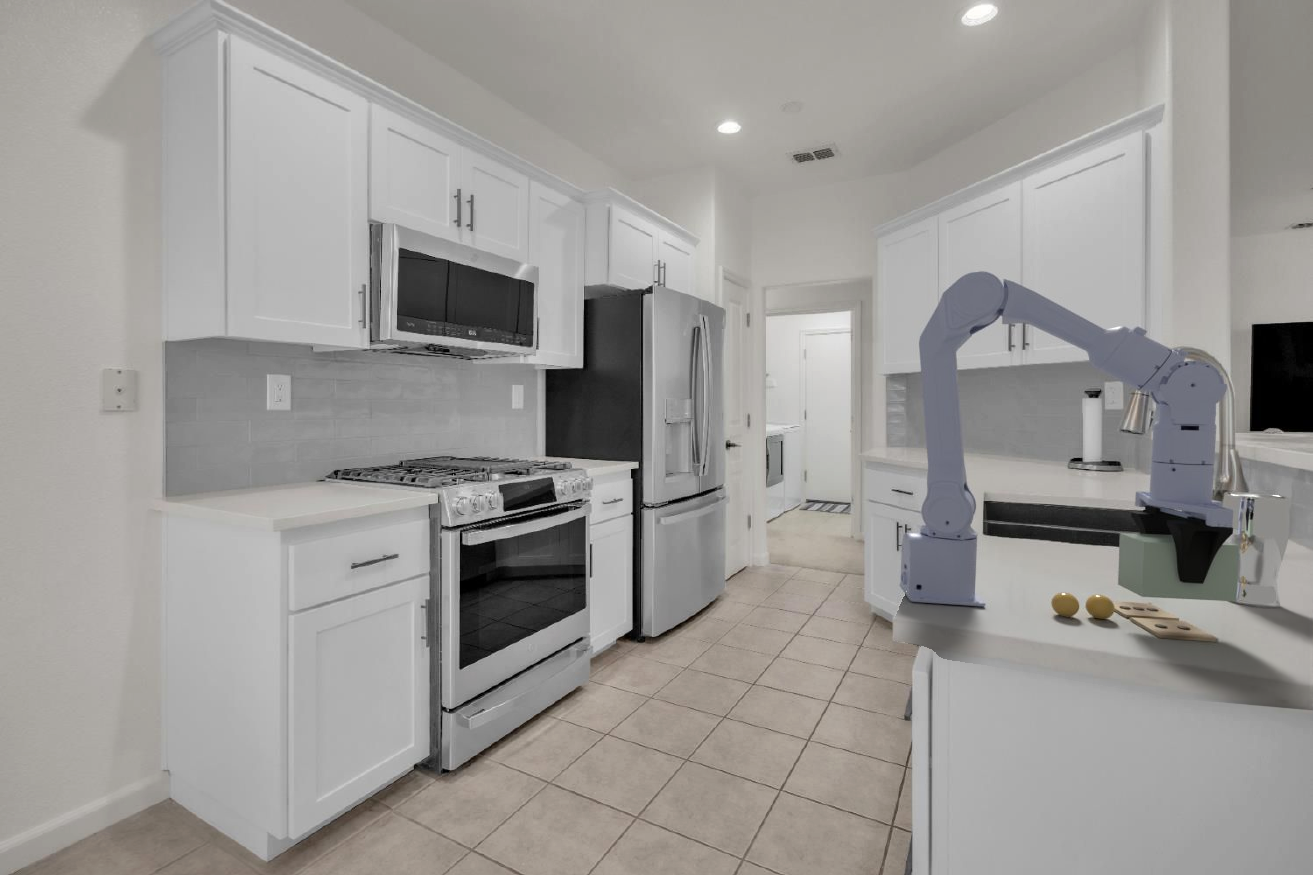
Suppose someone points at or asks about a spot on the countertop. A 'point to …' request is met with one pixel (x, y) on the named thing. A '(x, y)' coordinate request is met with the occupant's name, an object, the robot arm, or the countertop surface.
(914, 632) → the countertop surface
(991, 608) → the countertop surface
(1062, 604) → the marble
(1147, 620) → the pad two
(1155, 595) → the pale green block
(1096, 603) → the marble
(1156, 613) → the pad three
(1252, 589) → the beer glass
